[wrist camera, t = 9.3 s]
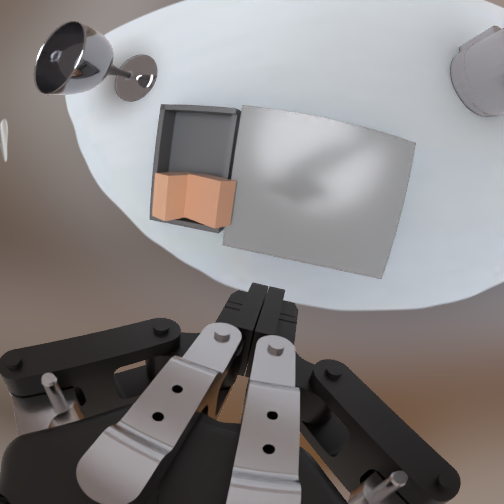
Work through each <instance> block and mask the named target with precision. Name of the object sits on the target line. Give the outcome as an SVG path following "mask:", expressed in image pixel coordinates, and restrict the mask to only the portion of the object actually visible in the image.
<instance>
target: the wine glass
mask: <svg viewBox="0 0 504 504" xmlns="http://www.w3.org/2000/svg"><path fill="white" fill-rule="evenodd" d="M108 75H116V78H115V90H116V93H117V95H118V96H119V97H120V98H121V99H123V100H124V101H130V102H131V101H136V100H139V99H141V98H142V97H144V96H145V95H146V94H147V93H148V92H149V91H150V90H151V88H152V87H153V85H154V83H155V81H156V77H157V66H156V63H155V61H154V60H153V59H152V58H151V57H150V56H147V55H136V56H133V57H131V58H130V59H128V60H127V61H126V62H125V63H124V64H123V65H122V66H121V67H120V69H119V68H117V67H115V66H114V65H113V49H112V46H111V44H110V42H109V41H108V40H107V39H106V38H105V37H104V36H103V35H102V34H101V33H99V32H98V31H96V30H95V29H94V28H91V27H89V26H87V25H85V24H82V23H79V22H75V21H70V22H66V23H64V24H62V25H61V26H59V27H58V28H56V29H55V30H54V31H53V32H52V33H51V34H50V36H49V37H48V38H47V39H46V41H45V42H44V44H43V46H42V48H41V49H40V52H39V54H38V56H37V59H36V63H35V68H34V82H35V86H36V88H37V89H38V90H39V91H40V92H41V93H44V94H52V95H68V94H77V93H82V92H85V91H88V90H91V89H93V88H94V87H96V86H97V85H98V84H100V83H101V82H102V81H103V80H104V79H105V77H106V76H108Z"/></svg>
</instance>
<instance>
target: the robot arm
mask: <svg viewBox="0 0 504 504" xmlns="http://www.w3.org/2000/svg"><path fill="white" fill-rule="evenodd" d="M451 78H452V82H453V85H454V88H455V90H456V92H457V94H458V95H459V97H460V99H461V100H462V101H463V103H464V104H465V105H466V106H467V107H468V108H469V109H470V110H471V111H473V112H475V113H476V114H478V115H481V116H486V117H489V116H498V115H504V28H503V29H501V28H499V27H498V26H493V27H491V28H489V29H488V30H486V31H484V32H483V33H481V34H479V35H478V36H476V37H475V38H473V39H471V40H470V41H468V42H467V43H465V44H463V45H462V46H460V52H459V53H458V54H457V55H456V56H455V57H454V59H453V60H452V64H451ZM267 291H268V292H267ZM284 293H285V290H284V289H279V288H275V287H270V286H269V289H268V286H266V285H261V284H257V283H252V285H251V287H250V289H249V291H248V292H244V291H240V290H238V291H236V292H235V293H233V294H231V296H230V297H229V299H228V301H227V303H226V305H225V307H224V308H223V310H222V312H221V314H220V315H219V317H218V319H217V321H216V322H215V323H212V324H210V325H208V326H206V327H205V328H204V330H203V331H202V332H201V333H182V332H181V329H180V326H179V325H178V324H177V323H176V322H174V321H172V320H170V319H166V318H155V319H150V320H146V321H143V322H139V323H135V324H130V325H126V326H122V327H118V328H113V329H109V330H105V331H101V332H96V333H92V334H87V335H83V336H78V337H74V338H69V339H64V340H59V341H55V342H51V343H45V344H40V345H35V346H30V347H24V348H20V349H14V350H10V351H8V352H6V353H5V354H4V355H3V356H2V357H1V358H0V374H1V376H2V378H3V380H4V382H5V384H6V385H7V389H8V391H9V392H10V394H11V396H12V401H13V408H14V414H15V420H16V426H17V430H18V435H19V437H17V438H16V439H14V440H13V441H12V442H11V443H10V444H9V445H8V447H7V448H6V450H5V452H4V454H3V457H2V464H1V472H0V504H445V503H446V502H448V501H449V500H451V499H452V498H453V497H455V496H456V494H457V493H458V491H459V489H460V477H459V474H458V473H457V471H456V470H455V469H454V468H453V467H452V466H451V465H450V464H449V463H448V462H447V461H446V460H444V459H443V458H442V457H441V456H440V455H439V454H438V453H437V452H436V451H435V450H434V449H433V448H432V447H430V446H429V445H428V444H427V443H426V442H425V441H424V440H423V439H422V438H421V437H420V436H419V435H418V434H417V433H416V432H415V431H414V430H412V429H411V428H410V427H409V426H408V425H407V424H406V423H405V422H404V421H403V420H402V419H401V418H400V417H399V416H398V415H397V414H396V413H395V412H393V410H391V409H390V408H389V407H388V406H387V405H386V404H385V403H384V402H383V401H382V400H381V399H380V398H379V397H378V396H377V395H376V394H375V393H374V392H373V391H371V390H370V388H369V387H367V385H366V384H364V383H363V382H362V381H361V380H360V379H359V378H358V377H357V376H356V375H355V374H354V373H353V372H352V371H351V370H350V369H349V368H348V367H347V366H346V365H344V364H343V363H341V362H339V361H335V360H329V359H326V360H321V361H319V362H317V363H316V364H315V365H314V364H312V363H310V362H307V361H306V360H304V359H302V358H301V357H300V356H299V355H298V354H297V353H296V351H295V347H294V341H295V332H296V323H297V316H298V309H297V307H296V305H295V303H292V302H288V301H283V298H284ZM143 360H145V362H146V365H144V366H140V367H137V368H134V369H130V370H127V371H123V372H120V373H116V374H114V372H115V371H116V369H118V368H120V367H122V366H126V365H129V364H133V363H136V362H140V361H143ZM247 364H248V366H247ZM246 367H247V371H246V375H245V376H246V377H249V380H248V384H247V388H246V393H245V398H244V403H243V408H242V413H241V418H240V422H239V424H237V423H236V424H235V423H222V422H219V421H217V419H218V417H219V415H220V413H221V411H222V409H223V407H224V405H225V403H226V401H227V399H228V397H229V395H230V392H231V391H232V388H233V384H234V383H235V381H236V378H237V375H241V376H244V373H245V370H246ZM337 417H338V418H337ZM345 426H346V427H345ZM300 432H301V433H302V434H303V436H304V437H305V438H306V440H307V441H308V442H309V444H310V445H311V446H312V447H313V448H314V450H315V451H316V452H317V454H318V455H319V456H320V457H321V459H322V460H323V461H324V462H325V464H326V465H327V466H328V467H329V469H330V470H331V471H332V472H333V473H334V475H335V476H336V477H337V478H338V479H339V480H340V482H341V483H342V484H343V485H344V486H345V488H346V489H347V490H348V491H349V492H350V493H351V494H350V496H349V500H348V503H347V501H346V500H345V499H344V498H343V496H342V495H341V494H340V492H338V490H337V489H336V487H335V486H334V485H333V483H332V482H331V481H330V480H329V478H328V477H327V476H326V474H325V473H324V471H323V470H322V469H321V467H320V466H319V465H318V464H317V462H316V461H315V459H314V458H313V457H312V456H311V455H310V454H309V453H308V452H306V451H305V450H304V449H303V448H301V447H300V446H299V436H300V435H299V434H300Z"/></svg>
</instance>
